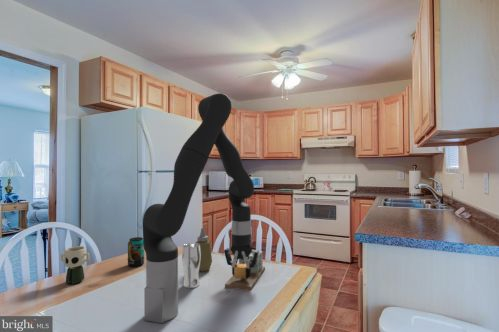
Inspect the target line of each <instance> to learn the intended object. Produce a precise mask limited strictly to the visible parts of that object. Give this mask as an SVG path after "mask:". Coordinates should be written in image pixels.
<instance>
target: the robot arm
mask: <svg viewBox="0 0 499 332" xmlns="http://www.w3.org/2000/svg"><path fill="white" fill-rule="evenodd" d="M197 108H198V109H197V110H198V114H199V118H200V119H201V123H200V125H198V127H197V128H196V129H195V131H193V133H192V134H191V135H190V136H189V138H187V140H186V141H185V143H184V144H183V145H182V147H181V149H180V151H179V153H178V155H177V157H176V159H175V162H174V166H173V182H172V187H171V190H170V193H169V195H168V196H167V198H166V200H165V202H164V203H153V204H151V205H150V206H148V207H147V208H146V210H145V212H144V213H143V217H142V218H143V219H142V238H143V245H144V253H145V261H146V262H145V267H146V268H145V276H146V278H145V285H146V286H145V287H144V289H143V290H144V297H143V298H144V300H143V301H144V316H143V317H144V318H143V319H144V321H146V322H151V323H152V322H153V323H157V324H164V323H165V322H167V321H170V320H173V319H174V318H175V317H176V316H178V314H179V249H178V246H177V244H176V243H175V242H174V241H173V238H172V237H173V236H175V235H176V234H177V233H178V232H179V231H180V230H181V228H182V226H183V224H184V221H185V219H186V215H187V211H188V209H189V206H190V203H191V200H192V197H193V194H194V192H195V191H196V187H197V185H198V183H199V180H200V178H201V176H202V173H203V172H204V169H205V167H206V165H207V162H208V159H209V157H210V154H211V152H212V150H213V148H214V146H215V148H216V149H217V153H218V154H219V158H220V159H221V162H222V165H223V168H224V171H225V173H226V175H227V176H228V177H230V178H231V179H232V181H231V182H230V183H229V186H228V197H229V201H230V206H231V211H232V213H231V216H232V217H231V247H229V248H228V247H226V248H225V249H224V250H223V253H224V256H225V260H226V264H227V265H228V266H231V274H232V276H233V275H234V267H235V266H236V265H237V264H238V262H239V259H243V260H244V262H245V263H246V267H247V268H246V278H249V277H250V276H251V268H253V267H254V266H255V265H256V262H257V259H258V256H259V251H260V250H255V249H253V247H252V230H253V229H252V222H251V221H252V220H251V218H252V217H251V216H252V213H251V212H252V211H251V210H252V209H251V206H250V205H248V203H246V199H247V200H248V199H250V198H251V197H252V196H253V195H254V193H255V185H254V183H253V180H252V178H251V177H250V175H249V172H248V171H247V170H246V169H245V167H244V163H243V161H242V157H241V156H240V153H239V150H238V148H237V147H236V145H235V143H234V142H233V141H232V140H231V139H230V138H229V136H228V135H227V134H226V132H225V130H224V128H223V127H224V126H225V124H226V122H227V121H228V119H229V117H230V115H231V112H232V101H231V98H229V96H228V95H227V94H225V93H214V94H212V95H209V96H207V97H205V98H202V99H201V100H200V101H199V103H198V106H197ZM251 253H252V254H253V256H254V258H253V261H252V263H251V262H250V257H249V255H250V254H251ZM231 254H232V255H233V258H232V256H231Z"/></svg>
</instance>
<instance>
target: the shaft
mask: <svg viewBox="0 0 499 332" xmlns="http://www.w3.org/2000/svg"><path fill="white" fill-rule="evenodd" d="M252 261H253V260H250V262H251V263H252ZM246 268H247V267H246V263H244V264H239V262H237V265H236V266H235V267H234V278H243V279H246Z"/></svg>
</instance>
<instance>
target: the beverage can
mask: <svg viewBox="0 0 499 332" xmlns="http://www.w3.org/2000/svg"><path fill="white" fill-rule="evenodd" d="M144 264H145V250H144V245H143V237H140V236H138V237H135V236H134V237H131V238H129V241H128V243H127V266H129V267H130V268H139V267H141V266H143V265H144Z"/></svg>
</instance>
